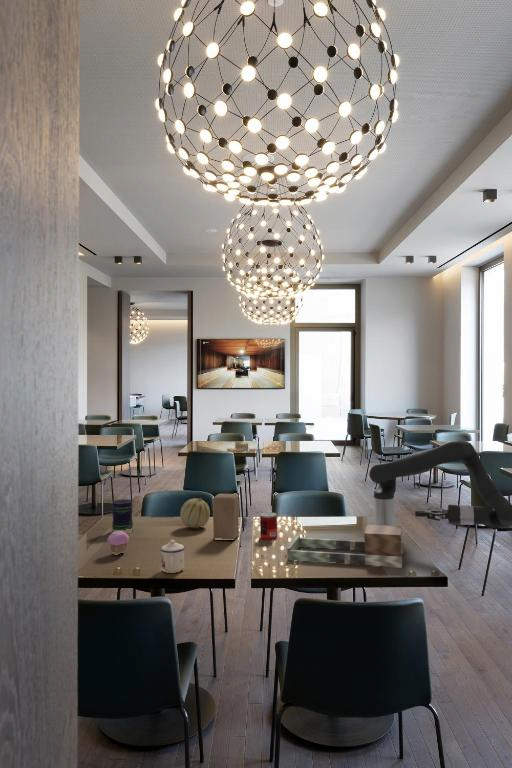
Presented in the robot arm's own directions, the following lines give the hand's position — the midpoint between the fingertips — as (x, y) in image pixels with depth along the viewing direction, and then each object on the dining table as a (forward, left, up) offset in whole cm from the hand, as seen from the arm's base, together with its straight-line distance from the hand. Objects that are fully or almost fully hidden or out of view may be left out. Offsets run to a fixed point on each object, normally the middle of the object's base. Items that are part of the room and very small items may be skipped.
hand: (415, 513), depth 240 cm
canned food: (+31, -62, -19) cm, 72 cm away
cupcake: (+98, -75, -19) cm, 125 cm away
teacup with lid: (+87, -41, -19) cm, 98 cm away
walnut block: (+9, -9, -19) cm, 23 cm away
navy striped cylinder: (+85, -111, -19) cm, 141 cm away
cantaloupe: (+52, -98, -19) cm, 113 cm away
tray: (+20, -20, -19) cm, 34 cm away
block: (+48, -72, -19) cm, 89 cm away
